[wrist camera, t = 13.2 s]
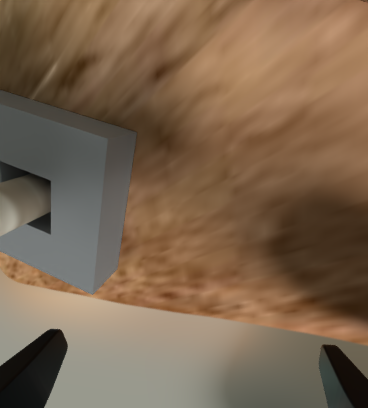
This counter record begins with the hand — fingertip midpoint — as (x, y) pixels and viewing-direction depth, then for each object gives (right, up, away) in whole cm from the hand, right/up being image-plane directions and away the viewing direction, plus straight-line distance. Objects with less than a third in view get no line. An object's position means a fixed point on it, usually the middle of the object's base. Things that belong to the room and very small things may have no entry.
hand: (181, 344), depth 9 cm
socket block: (-12, +7, +16) cm, 21 cm away
